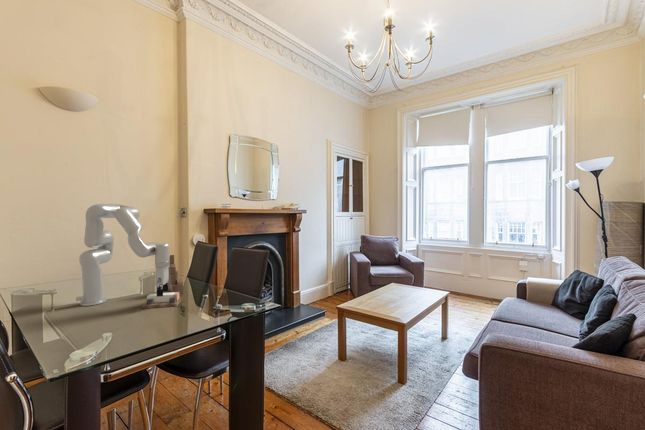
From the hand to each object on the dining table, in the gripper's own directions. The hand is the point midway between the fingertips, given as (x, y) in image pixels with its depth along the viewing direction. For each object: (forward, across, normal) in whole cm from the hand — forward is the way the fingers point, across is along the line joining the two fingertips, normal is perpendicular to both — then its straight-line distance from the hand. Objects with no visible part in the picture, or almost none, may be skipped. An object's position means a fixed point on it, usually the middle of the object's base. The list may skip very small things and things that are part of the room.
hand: (162, 293), depth 178 cm
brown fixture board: (+6, 0, +1) cm, 6 cm away
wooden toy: (+6, -24, +1) cm, 25 cm away
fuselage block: (+4, 0, 0) cm, 4 cm away
